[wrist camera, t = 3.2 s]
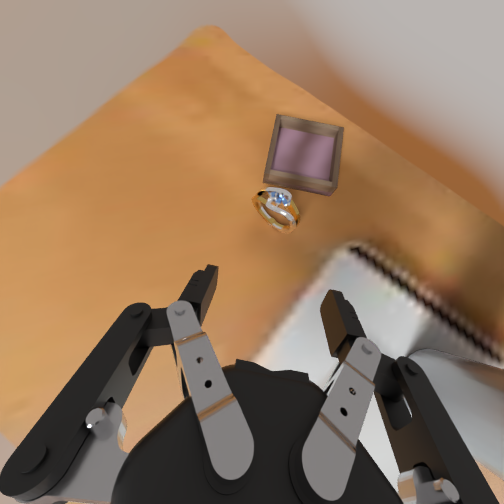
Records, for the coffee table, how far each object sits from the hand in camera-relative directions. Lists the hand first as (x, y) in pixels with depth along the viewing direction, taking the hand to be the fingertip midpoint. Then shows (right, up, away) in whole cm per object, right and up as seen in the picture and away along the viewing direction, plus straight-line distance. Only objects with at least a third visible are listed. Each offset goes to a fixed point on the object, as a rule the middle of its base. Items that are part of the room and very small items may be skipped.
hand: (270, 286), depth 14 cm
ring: (+1, +7, +16) cm, 17 cm away
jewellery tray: (+7, +18, +18) cm, 26 cm away
